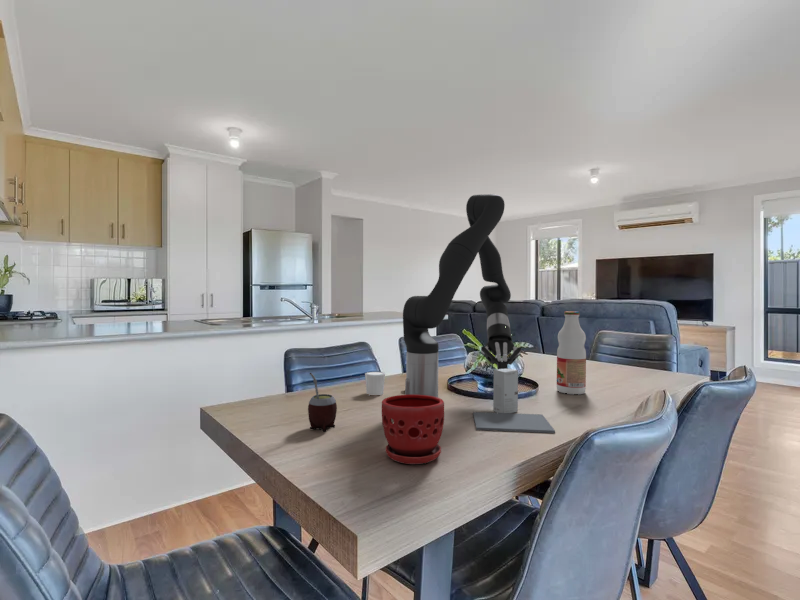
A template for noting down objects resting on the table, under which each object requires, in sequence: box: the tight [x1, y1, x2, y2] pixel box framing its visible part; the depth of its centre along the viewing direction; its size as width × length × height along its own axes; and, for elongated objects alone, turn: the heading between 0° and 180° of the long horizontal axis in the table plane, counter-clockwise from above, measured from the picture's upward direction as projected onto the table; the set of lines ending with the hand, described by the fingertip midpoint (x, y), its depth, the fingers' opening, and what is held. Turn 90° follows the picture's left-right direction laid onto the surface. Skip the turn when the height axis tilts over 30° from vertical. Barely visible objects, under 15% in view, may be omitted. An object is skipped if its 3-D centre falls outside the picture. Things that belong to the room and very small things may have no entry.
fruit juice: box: [556, 310, 587, 395], centre depth 148 cm, size 9×9×28 cm
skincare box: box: [492, 367, 519, 413], centre depth 124 cm, size 6×4×12 cm
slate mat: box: [472, 411, 556, 434], centre depth 113 cm, size 19×14×1 cm
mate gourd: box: [307, 372, 338, 433], centre depth 107 cm, size 8×8×15 cm
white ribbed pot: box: [364, 371, 386, 396], centre depth 144 cm, size 7×7×7 cm
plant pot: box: [381, 394, 445, 465], centre depth 90 cm, size 13×13×12 cm
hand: (503, 374), depth 129 cm, fingers closed
